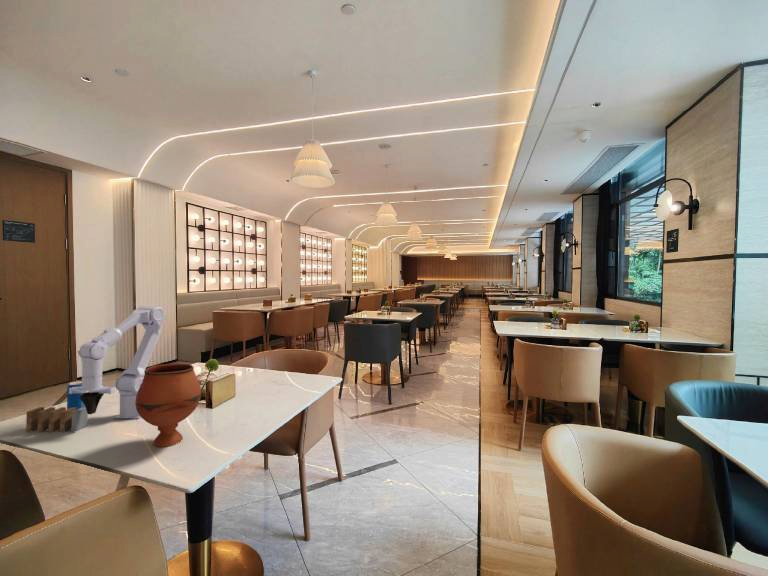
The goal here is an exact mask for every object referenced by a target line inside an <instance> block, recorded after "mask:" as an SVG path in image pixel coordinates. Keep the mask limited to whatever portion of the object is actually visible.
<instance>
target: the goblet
mask: <svg viewBox="0 0 768 576" xmlns="http://www.w3.org/2000/svg"><path fill="white" fill-rule="evenodd" d="M144 373H145V375H144V378H143V382H142V384H141V386H140V388H139V390H138V392H137V395H136V401H135V405H136V410H137V412H138V414H139V415H140V418H141V419H142V420H144V421H145V422H146V423H148V424H149V425H152V426H154V427H157V431H158V432H159V433H158V435H157V436H156V437H155V438H154V440H153V443H152V444H153V446H154V447H158V448H160V447H162V448H163V447H164V448H165V447H166V446H167V447H172V446H175V445H177V444H176V443H178V442H180V441H181V440H182V441H183V439H184V437H183V435H182V434H181V432H180V431H178V430H177V429H176V428H177V427H178V426H179V423H181V422H182V421H184V420H185V419H187V418H188V417H189V416H191V415H192V413H194V411H195V410H196V409H197V407H198V405H199V403H200V401H201V396H202V387H201V385H200V381H199V379H198V376H197V374H196V373H195V371H194V366H193V365H192V364H188V363H187V364H186V363H166V364H165V363H164V364H157V365H151V366H149V367H148V368H147V367H146V369H145V371H144ZM182 441H181V442H182ZM181 442H180V443H181ZM174 444H175V445H174ZM178 444H179V443H178ZM171 445H172V446H171Z"/></svg>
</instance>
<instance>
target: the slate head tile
mask: <svg viewBox="0 0 768 576" xmlns="http://www.w3.org/2000/svg"><path fill="white" fill-rule="evenodd" d="M88 417H89V414H88V413H87V410H86V407H83V408H80V409H78V410H75V411H73V412H72V429H71V432H72V431H73V432H72V433H74V431H77V432H79V431H80V430H83V429H85V428H87V427H88Z"/></svg>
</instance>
